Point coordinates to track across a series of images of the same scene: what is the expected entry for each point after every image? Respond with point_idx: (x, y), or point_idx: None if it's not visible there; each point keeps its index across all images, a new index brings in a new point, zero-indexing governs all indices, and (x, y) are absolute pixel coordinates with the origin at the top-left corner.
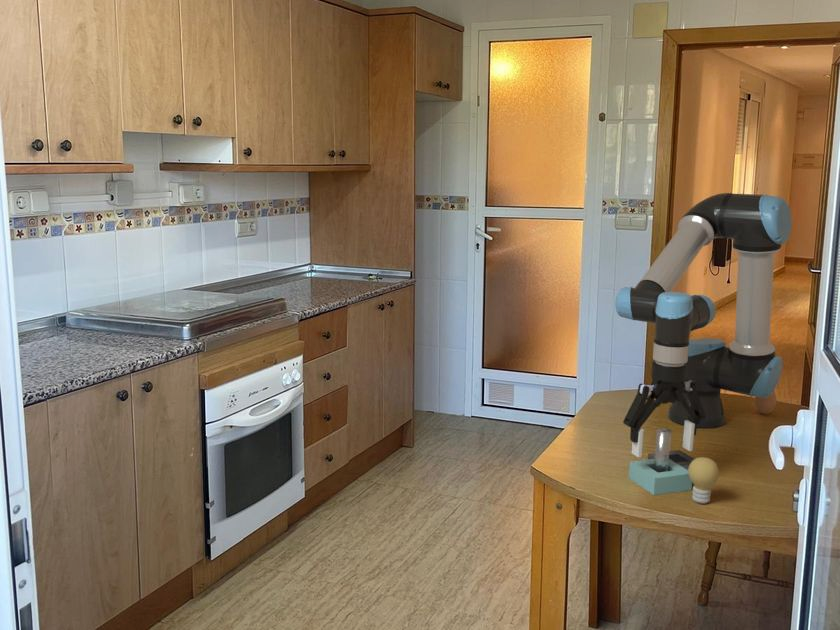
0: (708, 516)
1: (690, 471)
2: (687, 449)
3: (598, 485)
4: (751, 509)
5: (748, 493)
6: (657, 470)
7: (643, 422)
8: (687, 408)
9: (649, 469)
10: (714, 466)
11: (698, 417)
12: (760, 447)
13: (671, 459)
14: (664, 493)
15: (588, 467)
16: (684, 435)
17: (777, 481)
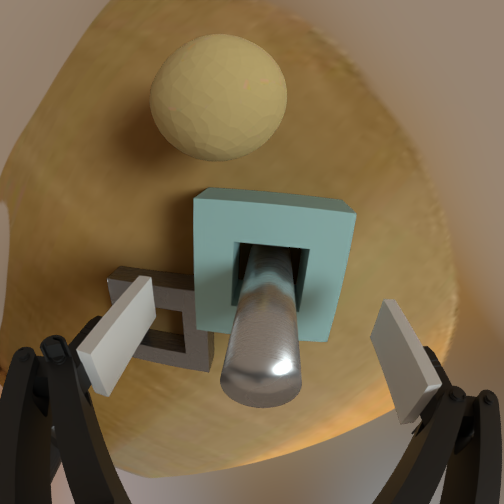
0: (287, 33)
1: (285, 105)
2: (151, 290)
3: (413, 301)
4: (144, 41)
5: (87, 126)
6: (291, 268)
7: (439, 418)
8: (78, 448)
9: (316, 280)
10: (195, 40)
11: (43, 369)
12: (4, 304)
13: (158, 339)
14: (304, 195)
15: (354, 376)
16: (135, 342)
17: (17, 174)
